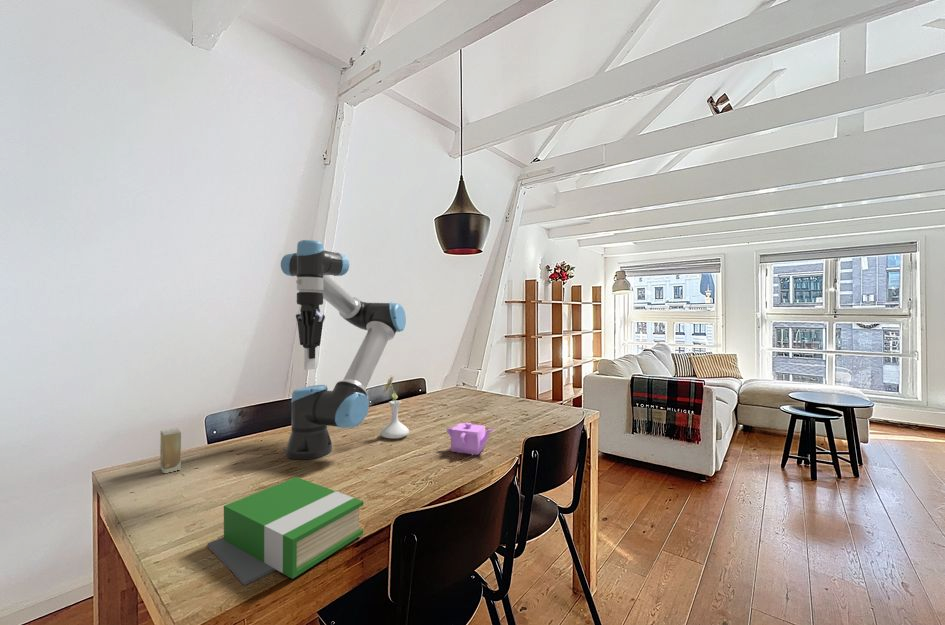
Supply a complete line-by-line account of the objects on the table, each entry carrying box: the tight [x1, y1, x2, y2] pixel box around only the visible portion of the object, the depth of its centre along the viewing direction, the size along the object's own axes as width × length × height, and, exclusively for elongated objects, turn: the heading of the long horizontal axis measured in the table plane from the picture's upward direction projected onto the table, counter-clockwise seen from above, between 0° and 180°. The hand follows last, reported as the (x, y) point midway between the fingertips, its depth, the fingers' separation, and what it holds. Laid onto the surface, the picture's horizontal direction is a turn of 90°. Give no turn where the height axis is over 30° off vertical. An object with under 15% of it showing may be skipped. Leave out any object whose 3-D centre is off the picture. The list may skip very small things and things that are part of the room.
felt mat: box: [206, 536, 277, 586], centre depth 89 cm, size 19×22×1 cm
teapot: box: [446, 422, 495, 456], centre depth 144 cm, size 18×14×10 cm
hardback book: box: [223, 476, 364, 580], centre depth 89 cm, size 18×7×24 cm
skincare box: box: [159, 427, 182, 474], centre depth 125 cm, size 6×4×12 cm
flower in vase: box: [379, 375, 410, 440], centre depth 159 cm, size 13×11×25 cm
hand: (309, 369), depth 123 cm, fingers closed
